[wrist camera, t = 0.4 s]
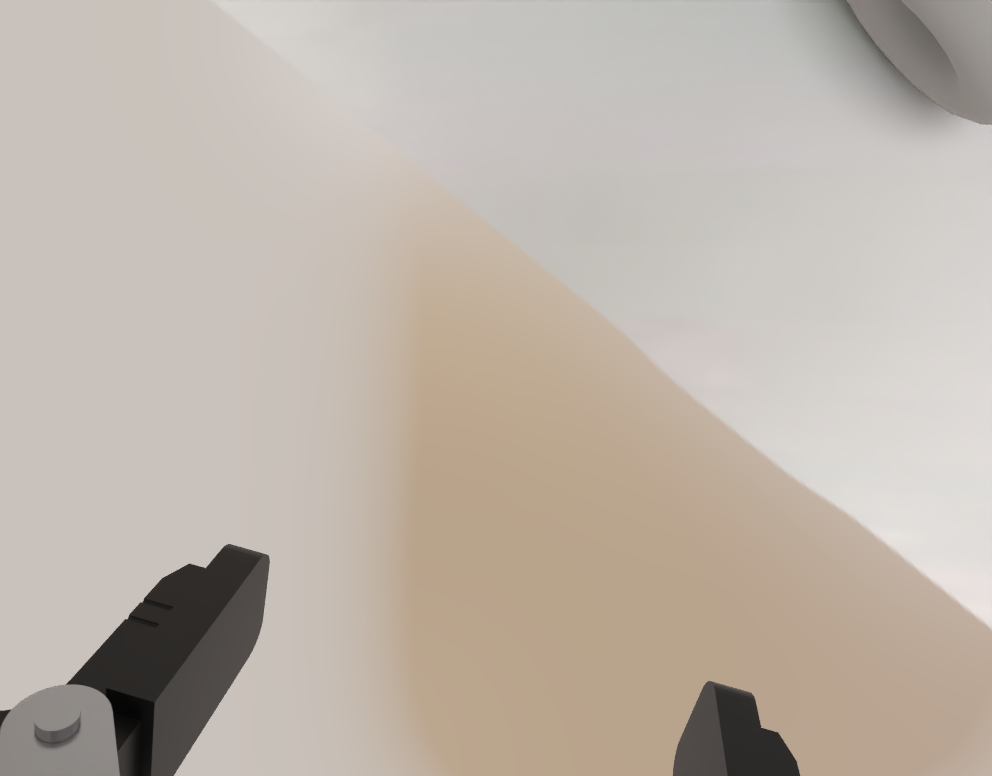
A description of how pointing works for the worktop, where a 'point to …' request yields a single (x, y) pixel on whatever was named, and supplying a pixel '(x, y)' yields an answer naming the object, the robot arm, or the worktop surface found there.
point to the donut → (937, 48)
